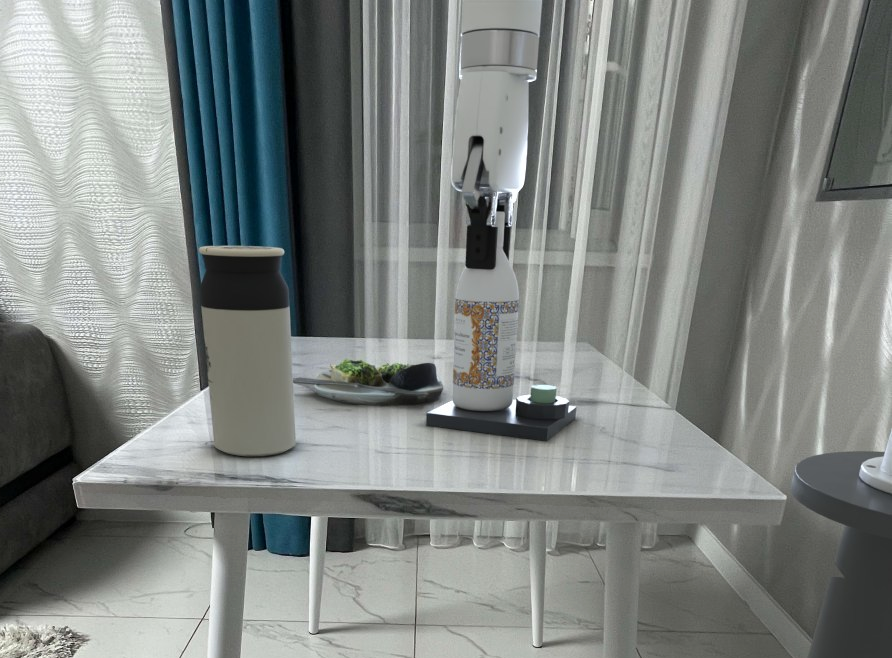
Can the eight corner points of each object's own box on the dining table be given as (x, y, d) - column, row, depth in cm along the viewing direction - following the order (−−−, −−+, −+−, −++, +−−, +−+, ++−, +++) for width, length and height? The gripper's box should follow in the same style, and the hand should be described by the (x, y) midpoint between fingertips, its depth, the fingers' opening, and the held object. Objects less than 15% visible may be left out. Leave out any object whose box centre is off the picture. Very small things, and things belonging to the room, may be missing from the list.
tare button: (558, 402, 91) (559, 386, 90) (551, 406, 89) (552, 390, 88) (534, 399, 92) (535, 383, 91) (526, 404, 90) (528, 387, 89)
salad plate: (286, 408, 96) (284, 368, 94) (297, 379, 112) (295, 344, 110) (448, 410, 98) (449, 370, 96) (436, 381, 114) (437, 347, 112)
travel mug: (306, 440, 84) (298, 247, 75) (281, 460, 77) (269, 251, 68) (232, 434, 85) (216, 244, 76) (201, 454, 78) (180, 247, 69)
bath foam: (441, 402, 95) (445, 210, 86) (491, 397, 98) (500, 211, 89) (472, 414, 89) (480, 211, 80) (524, 408, 92) (537, 212, 83)
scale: (578, 419, 95) (581, 393, 94) (549, 441, 85) (552, 413, 84) (465, 405, 100) (466, 380, 99) (425, 425, 91) (426, 398, 89)
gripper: (491, 74, 86) (481, 263, 95) (428, 47, 73) (423, 270, 81) (559, 72, 84) (542, 266, 92) (507, 43, 70) (494, 274, 79)
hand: (487, 266), depth 87 cm, fingers closed on bath foam, 3 cm apart
